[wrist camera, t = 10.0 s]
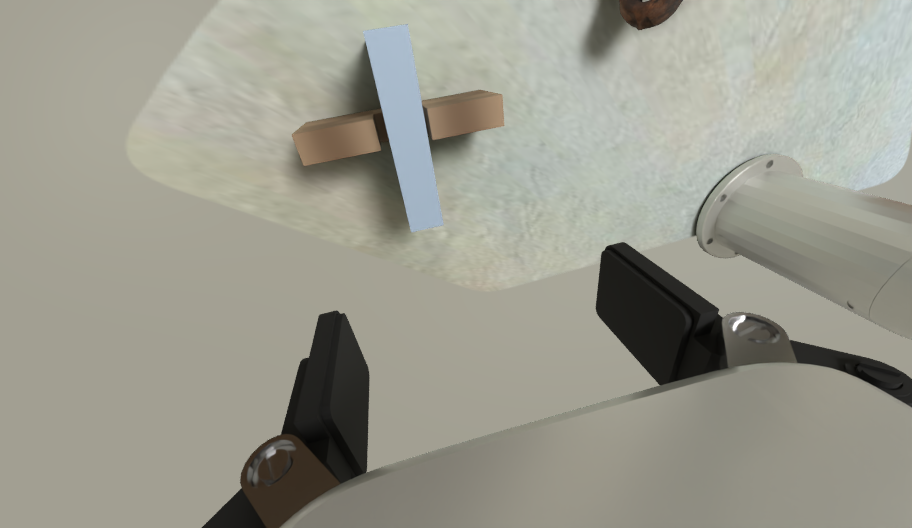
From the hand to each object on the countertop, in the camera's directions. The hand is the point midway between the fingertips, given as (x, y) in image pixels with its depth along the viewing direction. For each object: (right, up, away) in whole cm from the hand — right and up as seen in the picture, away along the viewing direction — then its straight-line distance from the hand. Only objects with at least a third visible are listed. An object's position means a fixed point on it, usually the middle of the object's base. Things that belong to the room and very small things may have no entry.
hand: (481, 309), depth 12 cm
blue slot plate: (-5, +13, +15) cm, 21 cm away
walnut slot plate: (-6, +13, +15) cm, 21 cm away
